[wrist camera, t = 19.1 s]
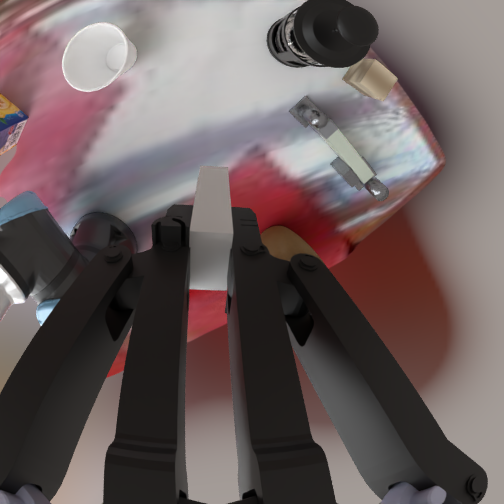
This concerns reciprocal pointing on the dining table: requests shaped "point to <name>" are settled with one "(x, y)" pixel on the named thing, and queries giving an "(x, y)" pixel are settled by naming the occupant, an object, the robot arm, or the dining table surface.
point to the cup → (97, 56)
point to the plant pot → (285, 243)
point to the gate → (344, 150)
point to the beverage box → (10, 124)
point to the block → (370, 78)
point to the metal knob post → (351, 178)
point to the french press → (323, 35)
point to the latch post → (309, 114)
